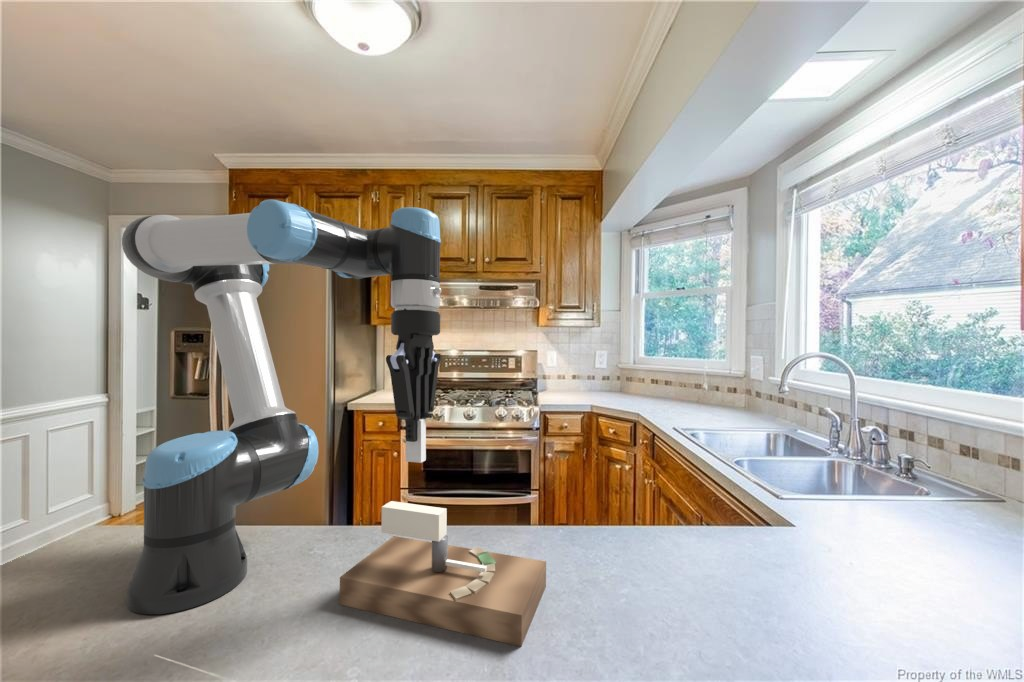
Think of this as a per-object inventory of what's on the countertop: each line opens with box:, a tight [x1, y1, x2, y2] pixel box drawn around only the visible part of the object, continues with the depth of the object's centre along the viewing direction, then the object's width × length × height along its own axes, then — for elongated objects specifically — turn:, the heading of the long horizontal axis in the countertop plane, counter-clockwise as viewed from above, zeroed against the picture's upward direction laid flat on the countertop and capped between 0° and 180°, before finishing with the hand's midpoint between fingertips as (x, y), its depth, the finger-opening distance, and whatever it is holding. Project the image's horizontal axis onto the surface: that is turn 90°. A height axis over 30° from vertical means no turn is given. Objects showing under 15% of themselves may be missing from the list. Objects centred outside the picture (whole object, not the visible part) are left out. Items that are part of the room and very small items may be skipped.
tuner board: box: [339, 535, 547, 647], centre depth 65 cm, size 28×14×4 cm, turn 72°
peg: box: [381, 500, 487, 572], centre depth 65 cm, size 17×3×9 cm, turn 73°
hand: (415, 460), depth 66 cm, fingers closed
